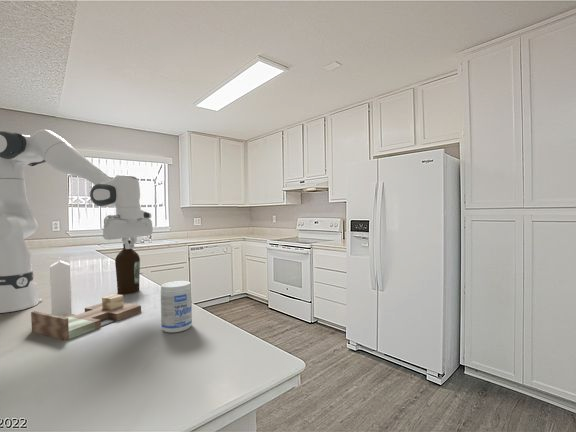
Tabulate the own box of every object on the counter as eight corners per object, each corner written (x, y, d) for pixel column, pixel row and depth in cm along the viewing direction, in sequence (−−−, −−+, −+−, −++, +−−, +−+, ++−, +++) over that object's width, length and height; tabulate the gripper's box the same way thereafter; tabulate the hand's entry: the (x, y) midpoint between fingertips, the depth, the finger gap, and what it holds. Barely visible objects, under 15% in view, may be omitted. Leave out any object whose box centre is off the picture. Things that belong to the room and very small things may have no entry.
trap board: (31, 331, 98) (31, 312, 98) (109, 306, 123) (109, 290, 123) (65, 340, 91) (64, 319, 91) (141, 311, 115) (140, 295, 115)
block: (102, 308, 113) (102, 297, 113) (114, 304, 118) (114, 294, 118) (111, 309, 111) (110, 298, 111) (123, 305, 116) (123, 295, 116)
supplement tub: (179, 335, 93) (178, 288, 93) (154, 332, 96) (153, 286, 95) (198, 323, 102) (196, 281, 102) (174, 321, 105) (173, 279, 105)
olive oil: (112, 295, 139) (111, 242, 139) (120, 289, 149) (118, 239, 149) (137, 293, 141) (135, 241, 141) (143, 288, 152) (141, 238, 151)
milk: (51, 318, 110) (48, 259, 110) (52, 314, 115) (49, 257, 114) (72, 314, 114) (69, 257, 113) (71, 310, 119) (69, 255, 118)
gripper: (109, 215, 110) (110, 252, 111) (154, 214, 129) (155, 245, 129) (98, 215, 113) (99, 251, 113) (144, 214, 131) (145, 245, 132)
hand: (129, 248), depth 121 cm, fingers closed
